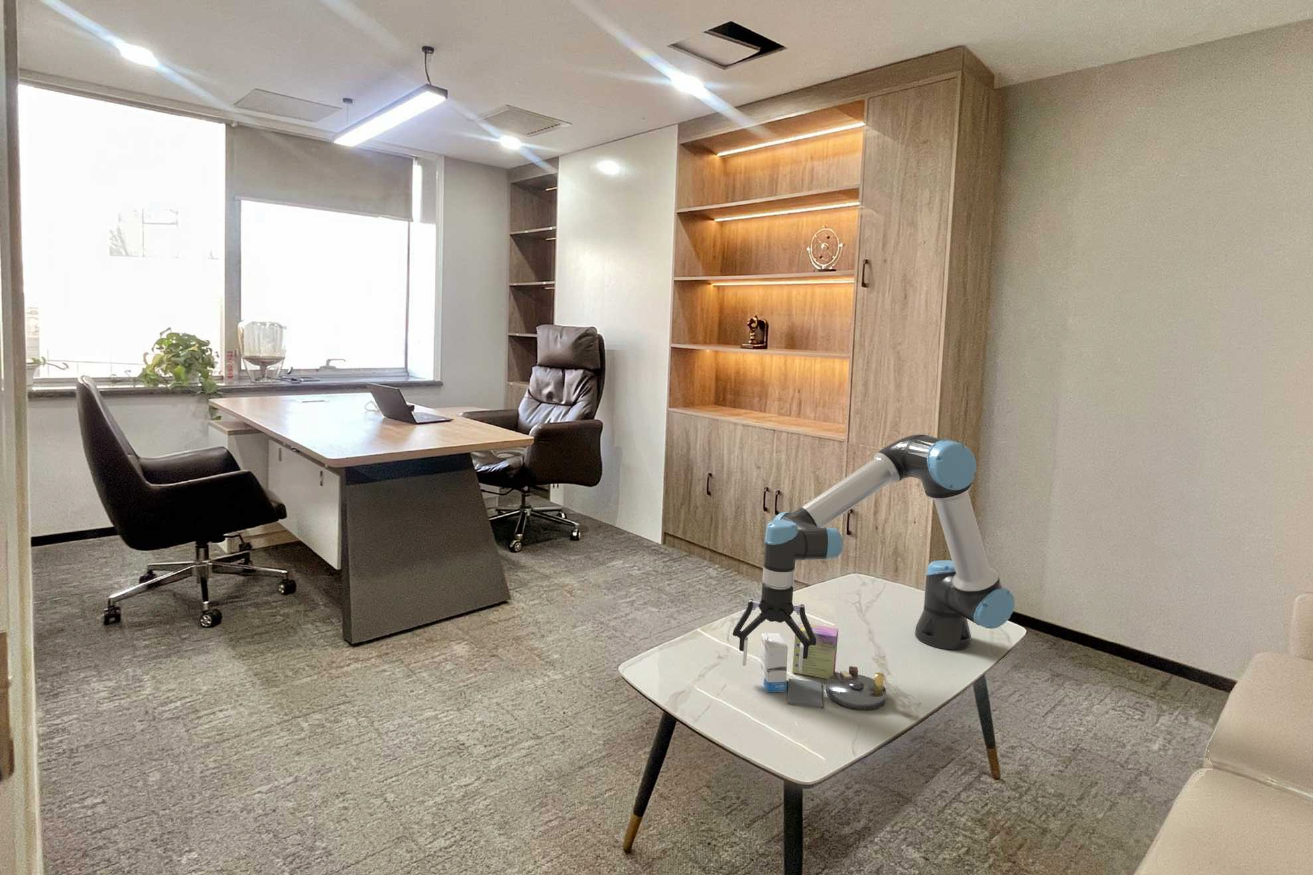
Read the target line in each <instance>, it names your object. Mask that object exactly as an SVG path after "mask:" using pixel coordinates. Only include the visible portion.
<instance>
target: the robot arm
mask: <svg viewBox="0 0 1313 875" xmlns="http://www.w3.org/2000/svg"><path fill="white" fill-rule="evenodd" d="M975 473H977V460H976V458H975V455H974V454H973V452H972V451H971V449H969V447H967V446H966V445H964V444H962V443H960V442H957V441H955V440H952V439H946V438H945V439H943V438H940V437H935V436H931V435H927V434H920V433H919V434H912V435H908V436H905V437H902V438H900V439H898V440H896V441H894V442H892V443H890V444H889V445H887V446H885V447H883V448H882V449H880V450H879V451H878V452H876V453H874V454H873V460H871V461H869V462H867V463H866V464H864V465H863V466H861V467H860V468H859V469H857V470H855V471H853V472H852V473H851V474H849V475H848V476H846V477H845V478H843V479H842V480H840V481H839V482H837V483H836V484H835V485H834V484H833V486H831V487H830V488H828V489H827V490H825V491H824V492H822V493H820V494H819V495H818V496H816V497H815V498H813V499H811V500H810V501H808V502H807V503H806V504H804V505H802V506H801V507H799V508H797V510H794V511H793V512H790V511H784V512H780V513H778V514H777V515H776V516H775V517H774V519H773V520H771V521H769V522H768V523H767V524H766V529H765V536H764V551H763V552H764V555H763V556H764V557H763V568H762V582H763V583H762V585H761V598H760V601H756V600H754V599H752V598H750V599H748V604H747V607H746V609H745V610H744V612H743V614H742V615H741V617H740V618H739V620H738V622H736V625H735V626H734V627H733V630H732V636H733V637H737V638H739V646H738V649H739V651H740V652H743V657H742V666H745V667H746V666H747V660H748V657H747V656H748V646H749V645H748V644H749V635H750V634H751V633H752V632H753V631H754V630H756V629H757V628H758V627H759V626H760V625H761V624H762V623H764V622H765V621H766V620H767V621H768V622H769V623H770V622H772V623H773V622H775V623H778V624H782V623H783V622H785V624H786V625H787V626H788V627H789V628H790V629H791V631H792V633H793V634H794V636H795V635H796V636H797V637H798V639H799V640H800V641H801V643H800V656H799V672H800V673H802V662H803V659H807V657H808V647H809V646H811V645H816V637H815V635H814V633H813V630H812V628H811V626H810V624H811V623H810V622H809V619H808V617H807V614H806V607H805V604H804V603H803V604H800V605H793V604H794V603H793V600H794V599H793V597H794V586H793V585H794V584H795V569H796V561H810V560H811V561H812V560H829V559H835V558H838V557H839V556H840V555H841V553H842V551H843V545H844V542H843V537H842V535H841V532H840V530H838V529H836V528H835V527H827V525H828V524H830V523H832V522H833V521H835V520H836V519H838V518H839V517H841V516H842V515H844V514H846V512H848V511H850V510H851V509H853V508H854V507H857V505H859V504H860V503H862V502H863V501H865V500H866V499H868V498H870V497H871V496H872V495H874V494H875V493H877V492H879V491H880V490H881V489H883V488H884V487H886V486H887V485H889V484H897V483H899V482H901V481H902V480H904V479H907V478H915V479H918V480H920V481H921V485H922V487H923V491H924V493H925V495H926V497H927V498H930V499H932V500H933V502H934V506H935V508H936V512H937V515H938V518H939V521H940V525H941V528H942V532H943V535H944V538H945V542H946V544H947V545H946V546H947V548H948V552H949V554H950V555H949V556H950V559H951V560H949V559H947V560H943V559H942V560H933V561H931V562H930V563H929V564H928V565H927V571H926V574H925V589H924V590H925V591H924V601H923V611H922V612H921V615H920V617H919V619H918V621H917V623H916V625H915V628H914V629H915V630H914V633H915V634H914V636H915V637H916V639H917V640H918V641H919V642H920V641H921V642H922V643H923V644H926V645H929V646H931V647H935V648H939V649H945V650H954V651H956V650H964V649H967V648H969V647H970V646H971V644H972V635H971V630H970V626H969V622H968V621H970V622H972V623H973V624H975V625H977V626H980V627H982V628H985V629H989V630H990V629H991V630H993V629H997V628H999V627H1001V626H1003V625H1004V624H1005V623H1007V621H1009V619H1010V618H1011V617H1012V616H1011V615H1012V614H1013V613H1014V609H1015V605H1016V603H1015V602H1016V601H1015V597H1014V594H1013V593H1012V592H1011V591H1010V590H1009V589H1008V588H1005V587H1003V586H1002V583H1001V580H1000V577H999V574H998V572H997V570H995V569H994V567H993V568H992V567H990V564H989V560H988V557H987V554H986V549H985V547H984V543H983V538H982V536H981V532H980V529H979V525H978V523H977V518H976V516H975V515H976V514H975V512H974V507H973V505H972V502H971V501H972V500H971V497H970V495H969V491H970V490H971V488H972V487H973V481H974V479H975V477H976V476H975V475H974V474H975ZM825 526H826V527H825ZM757 608H758V609H759V611H760V613H759V614H758V615H757V616H756V617H755V618H754V619H752V621H751V622H750V623H749V624H748V625H747V626H746V627H745V628H744V629H742V628H743V626H744V625H745V624H746V622H747V621H748V619H749V617H750V616H751V614H752V612H753V611H755V610H756V609H757ZM794 612H795V613H796V615H798V616H799V618H800V620H801V623H803V625H804V628H805V630H806V632H807V635H808V637H809V639H807V638H806V636H805V635H804V634H803V632H802V631H801V630H800V628H799V627H798V626H797V625H798V623H796V622H795V620H794V619H793V617H792V614H793V613H794Z"/></svg>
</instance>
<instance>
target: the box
mask: <svg viewBox="0 0 1313 875" xmlns="http://www.w3.org/2000/svg"><path fill="white" fill-rule="evenodd" d="M797 626H798V627H799V628H800V630H801V631H802V632H803V634H804V635H805V636H806V638H807V639H809V637H808V635H807V632H806V630H805V628H804V625H803V623H802V621H801V622H800V621H799V622H798V623H797ZM810 626H811V628H812V630H813V633H814V635H815V637H816V645H811V646H809V647H808V657H807V659H803V662H802V673H800V672H799V656H800V643H801V641H800V640H799V639H798V637H797V636H796V635H795V634H794V641H793V656H792V671H791V672H792V673H794V674H798V675H804V676H805V675H806V676H811V677H816V678H821V679H825V680H828V678H830V677H831V676H833V675H835V672H836V665H837V664H836V662H837V651H838V638H839V628H836V627H829V626H822V625H819V624H818V625H817V624H812V623H810Z"/></svg>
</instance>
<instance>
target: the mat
mask: <svg viewBox="0 0 1313 875" xmlns="http://www.w3.org/2000/svg"><path fill="white" fill-rule="evenodd" d="M787 683H788V684H787V688H788V689H787V705H795V706H802V707H810V708H817V709H823V708H824V707H823V706H824V704H823V693H822V692H823V689H822V682H821V681H815V680H814V681H813V680H807V679H806V680H805V679H796V678H788V682H787Z"/></svg>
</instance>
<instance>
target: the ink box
mask: <svg viewBox="0 0 1313 875" xmlns="http://www.w3.org/2000/svg"><path fill="white" fill-rule="evenodd" d="M760 636H761V637H760V638H761V639H760V665H759V666H760V667H759V668H760V671H759V672H760V673H759V677H760V680H761V683H763V686H764V688H765V690H766V692H767V693H780V692H781V693H783V692H787V673H788V670H787V669H788V667H787V666H788V650H789V649H788V648H789V647H788V645H787V643H786V642H785V640H784V639H783V637H782V635H781V634H780V633H779V632H777V633H773V632H772V633H770V632H769V633H767V632H766V633H765V632H763V633H761V635H760Z"/></svg>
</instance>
